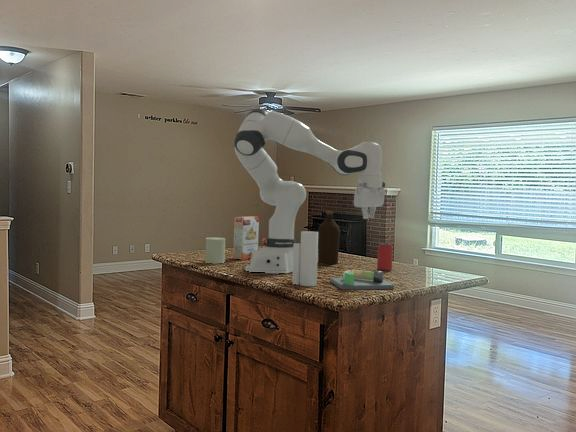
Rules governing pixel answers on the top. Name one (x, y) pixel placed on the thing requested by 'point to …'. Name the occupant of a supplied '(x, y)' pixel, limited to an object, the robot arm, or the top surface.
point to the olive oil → (328, 241)
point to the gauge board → (358, 283)
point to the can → (215, 250)
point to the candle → (305, 259)
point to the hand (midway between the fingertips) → (368, 218)
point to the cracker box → (245, 237)
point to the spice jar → (368, 275)
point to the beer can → (385, 256)
